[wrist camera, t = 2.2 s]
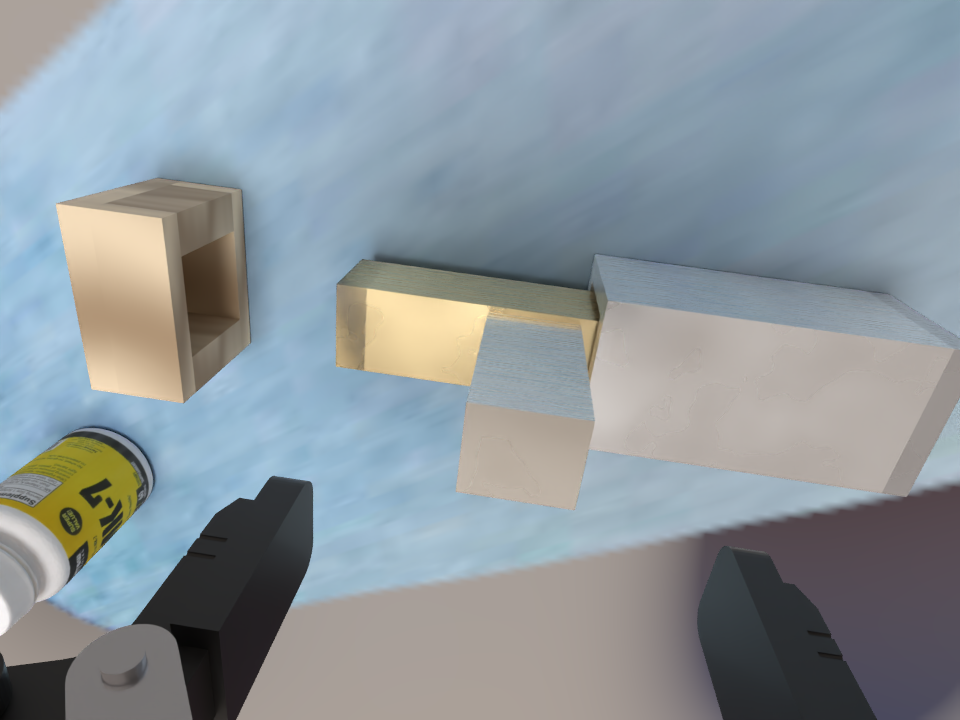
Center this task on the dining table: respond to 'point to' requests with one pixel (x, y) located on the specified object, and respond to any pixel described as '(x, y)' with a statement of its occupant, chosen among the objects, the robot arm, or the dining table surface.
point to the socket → (158, 284)
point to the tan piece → (485, 367)
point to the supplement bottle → (64, 514)
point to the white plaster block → (767, 375)
